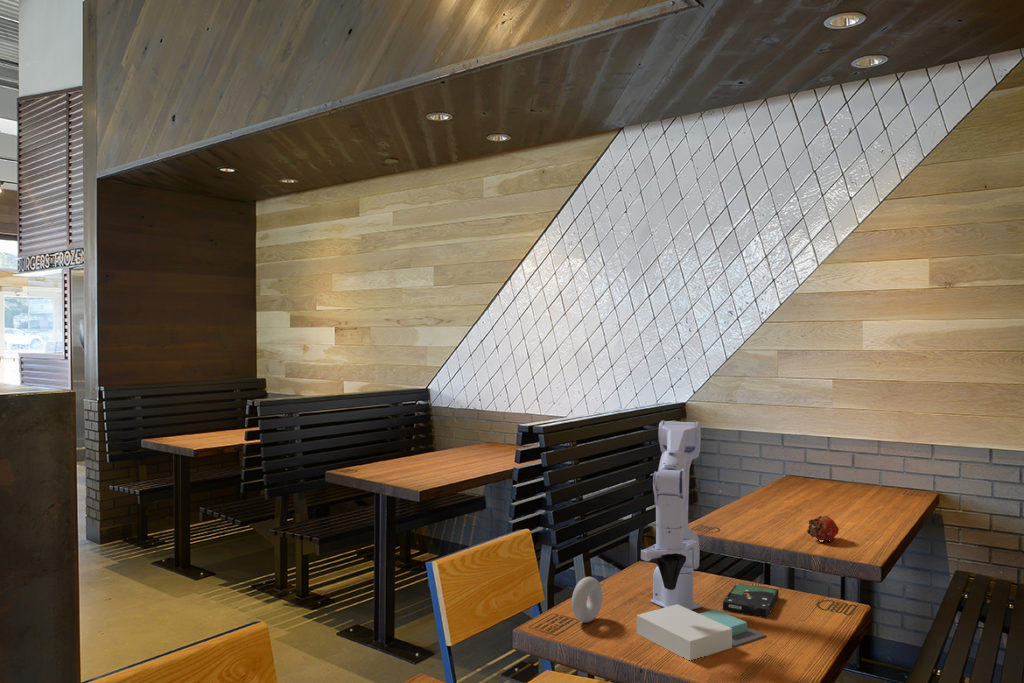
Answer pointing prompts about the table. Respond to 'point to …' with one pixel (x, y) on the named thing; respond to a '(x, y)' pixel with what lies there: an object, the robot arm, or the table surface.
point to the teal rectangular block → (727, 621)
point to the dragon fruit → (823, 528)
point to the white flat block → (684, 632)
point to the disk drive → (751, 600)
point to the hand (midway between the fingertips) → (669, 588)
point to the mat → (746, 637)
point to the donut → (580, 605)
